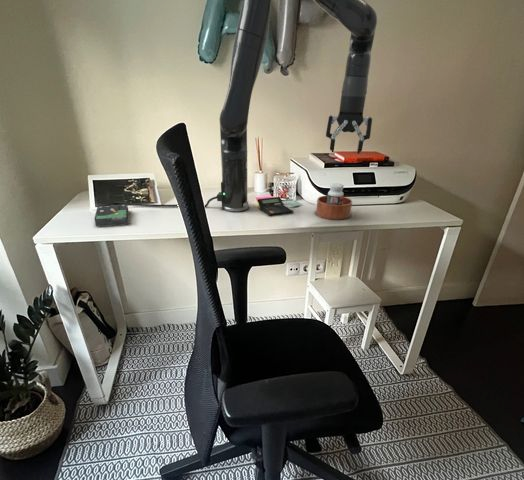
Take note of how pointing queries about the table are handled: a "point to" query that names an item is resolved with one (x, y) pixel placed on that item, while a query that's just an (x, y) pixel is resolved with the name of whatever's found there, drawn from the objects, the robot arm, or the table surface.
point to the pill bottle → (335, 194)
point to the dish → (333, 209)
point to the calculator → (273, 206)
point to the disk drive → (111, 215)
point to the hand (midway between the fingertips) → (345, 152)
